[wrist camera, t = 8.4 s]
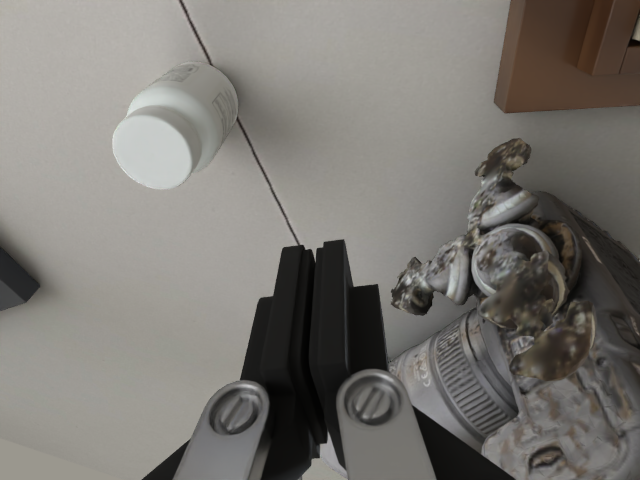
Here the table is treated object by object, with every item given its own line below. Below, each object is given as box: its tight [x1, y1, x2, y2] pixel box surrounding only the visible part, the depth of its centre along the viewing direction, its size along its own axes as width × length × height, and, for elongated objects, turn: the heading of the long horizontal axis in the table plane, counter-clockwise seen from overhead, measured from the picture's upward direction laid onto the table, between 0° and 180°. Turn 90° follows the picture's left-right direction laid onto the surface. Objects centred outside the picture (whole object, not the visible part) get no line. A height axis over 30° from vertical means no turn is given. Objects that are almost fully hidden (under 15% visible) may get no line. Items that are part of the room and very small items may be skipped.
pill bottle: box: [112, 62, 238, 190], centre depth 21 cm, size 4×4×8 cm
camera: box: [320, 138, 640, 480], centre depth 26 cm, size 25×18×18 cm
